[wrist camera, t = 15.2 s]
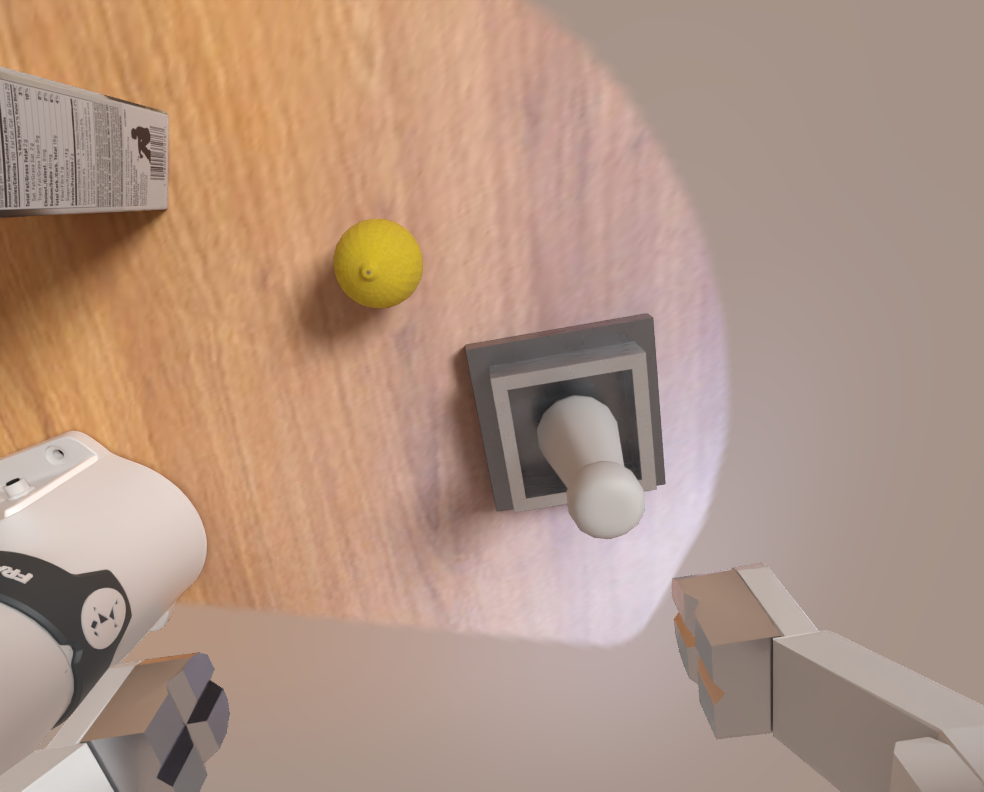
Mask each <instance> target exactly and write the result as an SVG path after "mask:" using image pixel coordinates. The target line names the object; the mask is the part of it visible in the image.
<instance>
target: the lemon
mask: <svg viewBox="0 0 984 792" xmlns="http://www.w3.org/2000/svg"><path fill="white" fill-rule="evenodd" d="M333 267H334V272H335V276H336V279H337V281H338V283H339V285H340V287H341V288H342V290H343V291H344V292H345V293H346V295H347V296H348V297H350V298H351V299H352V300H354V301H355V302H357V303H359V304H361V305H364V306H366V307H371V308H389V307H392V306H395V305H397V304H400V303H401V302H403V301H404V300H406V299H407V298H409V297H410V295H411V294H412V293H413V292H414V291H415V290H416V288H417V286H418V284H419V282H420V280H421V276H422V271H423V257H422V254H421V250H420V247H419V245H418V243H417V242H416V240H415V238H414V237H413V236H412V235H411V234H410V233H409V232H408V230H407V229H405V228H404V227H402V226H401V225H399V224H397V223H395V222H392V221H389V220H386V219H369V220H365V221H361V222H359V223H358V224H356V225H354V226H352V227H351V228H350V229H348V230H347V231H346V232H345V233H344V234H343V235H342V237H341V239H340V240H339V242H338V244H337V246H336V250H335V253H334V266H333Z"/></svg>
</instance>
